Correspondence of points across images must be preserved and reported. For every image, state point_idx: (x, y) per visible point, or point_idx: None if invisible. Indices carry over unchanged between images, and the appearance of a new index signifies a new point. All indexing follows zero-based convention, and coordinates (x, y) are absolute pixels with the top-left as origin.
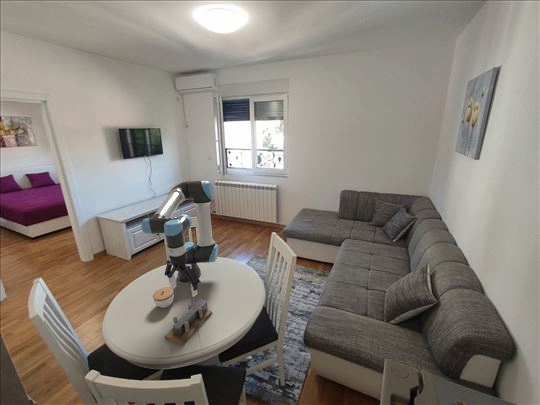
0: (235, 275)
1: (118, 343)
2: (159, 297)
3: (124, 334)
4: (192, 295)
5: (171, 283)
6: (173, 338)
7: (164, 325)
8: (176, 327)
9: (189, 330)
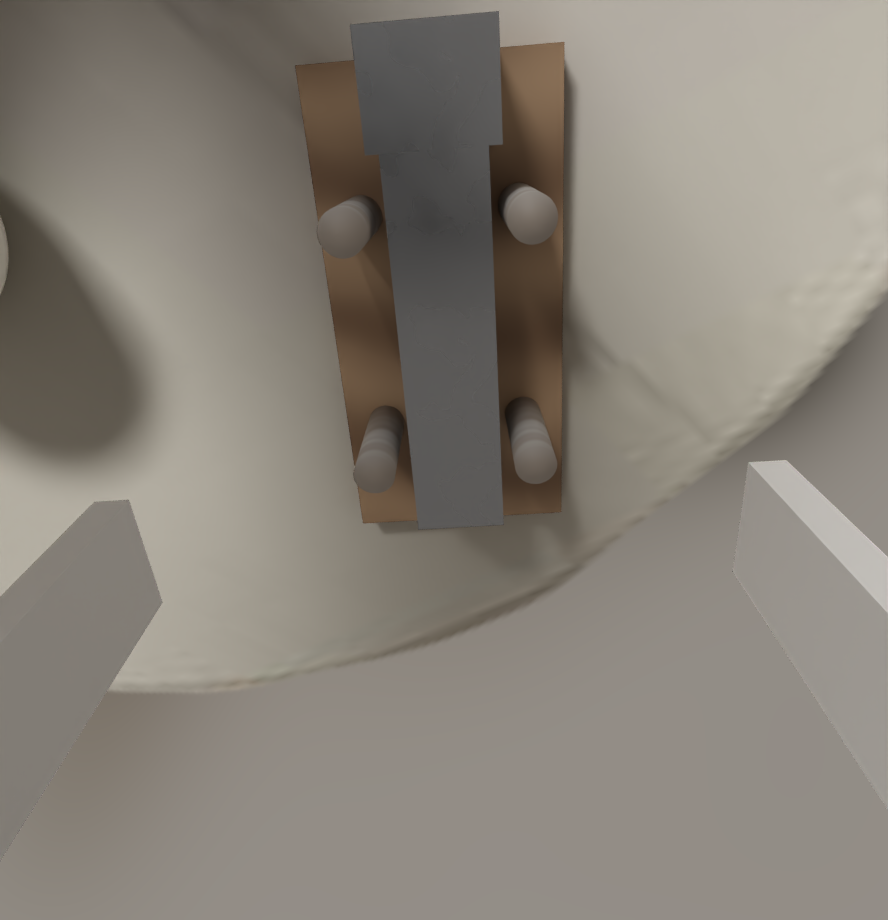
0: None
1: None
2: None
3: None
4: (750, 590)
5: (79, 719)
6: None
7: (235, 429)
8: (470, 523)
9: (521, 390)
